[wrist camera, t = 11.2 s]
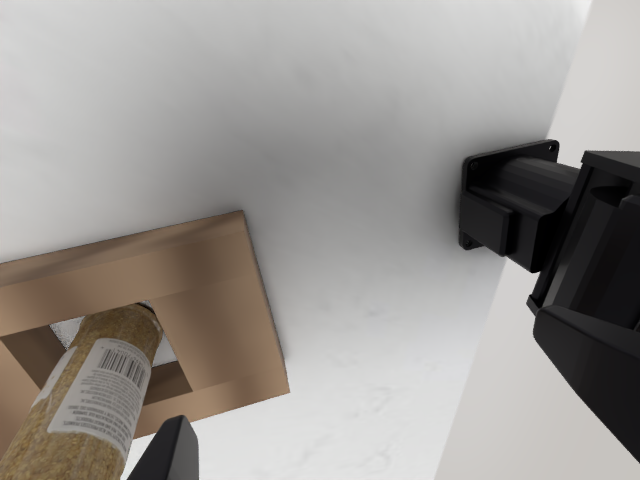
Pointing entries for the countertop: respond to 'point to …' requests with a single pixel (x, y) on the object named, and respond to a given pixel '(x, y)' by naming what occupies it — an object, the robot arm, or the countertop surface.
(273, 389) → the walnut slab
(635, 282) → the robot arm
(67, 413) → the sprinkles bottle
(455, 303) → the countertop surface
